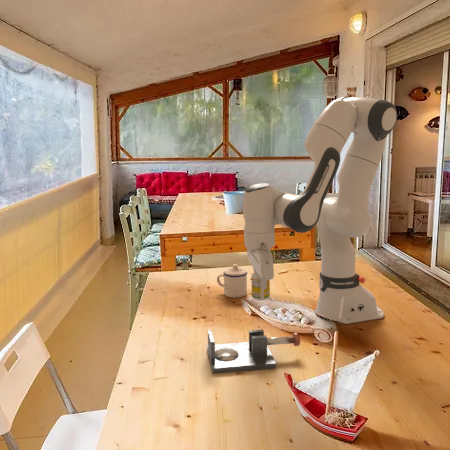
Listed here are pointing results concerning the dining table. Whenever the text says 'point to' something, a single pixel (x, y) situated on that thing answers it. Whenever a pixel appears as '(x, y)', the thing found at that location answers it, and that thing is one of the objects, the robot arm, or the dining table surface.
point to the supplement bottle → (256, 290)
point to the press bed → (240, 354)
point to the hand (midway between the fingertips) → (260, 284)
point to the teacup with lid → (234, 281)
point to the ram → (285, 340)
